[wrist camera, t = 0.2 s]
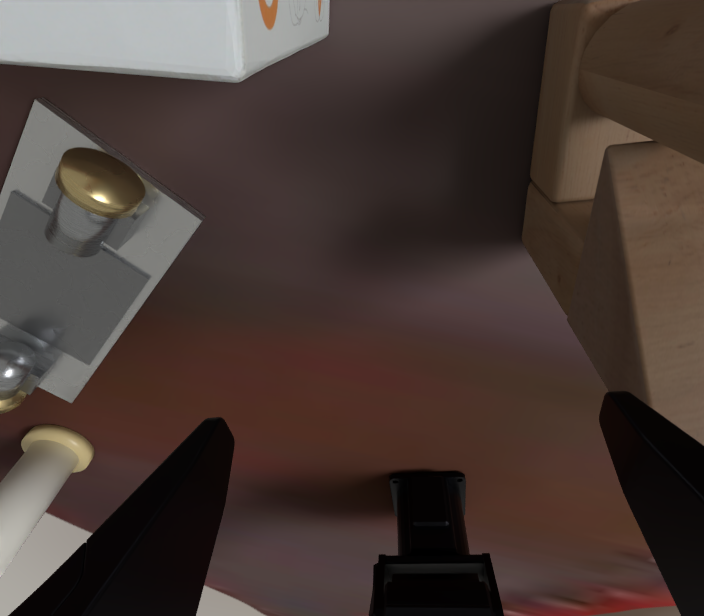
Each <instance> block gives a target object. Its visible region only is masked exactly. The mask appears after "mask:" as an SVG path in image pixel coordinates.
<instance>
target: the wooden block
mask: <svg viewBox="0 0 704 616" xmlns="http://www.w3.org/2000/svg"><path fill="white" fill-rule="evenodd" d="M530 176H531V179H532V180H533V181H531V182H530V184H529V187H528V193H527V201H526V209H525V216H524V224H523V232H522V242H523V244H524V246H525V247H526V249H527V251H528V252H529V254H530V256H531V257H532V259H533V261H534V262H535V264H536V266H537V267H538V269H539V271H540V272H541V274H542V276H543V277H544V279H545V281H546V282H547V284H548V286H549V287H550V289H551V291H552V292H553V294H554V296H555V297H556V299H557V301H558V302H559V304H560V306H561V307H562V309H563V311H564V312H565V314H566V315H568V318H567V321H568V323H569V325H570V326H571V328H572V330H573V331H574V333H575V335H576V336H577V338H578V340H579V342H580V343H581V345H582V347H583V348H584V350H585V352H586V353H587V355H588V357H589V358H590V360H591V362H592V363H593V365H594V367H595V369H596V370H597V372H598V374H599V375H600V377H601V379H602V380H603V382H604V384H605V385H606V387H607V389H608V390H609V391H628V392H630V393H632V394H633V395H635V396H636V397H637V398H639V399H640V400H642V401H643V402H644V403H646V404H647V405H649V406H650V407H651V408H653V409H654V410H655V411H657V412H658V413H660V414H661V415H662V416H664V417H665V418H666V419H668V420H669V421H671V422H672V423H673V424H675V425H676V426H678V427H679V428H680V429H682V430H683V431H684V432H686V433H687V434H689V435H690V436H691V437H693V438H694V439H696V440H697V441H698V442H700V443H701V444H702V445H704V0H561V1H558V2H557V3H555V4H554V5H553V7H552V9H551V11H550V19H549V27H548V35H547V43H546V51H545V59H544V67H543V74H542V82H541V90H540V98H539V106H538V114H537V122H536V130H535V138H534V146H533V154H532V162H531V170H530Z"/></svg>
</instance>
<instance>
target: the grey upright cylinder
mask: <svg viewBox="0 0 704 616" xmlns="http://www.w3.org/2000/svg"><path fill="white" fill-rule="evenodd" d="M21 446H22V449H23V451H24V452H25V453H24V454H23V455H22V457H21V458H20V459H19V460H18V462H17V463H16V464H15V465H14V466H13V468H12V469H11V470H10V471H9V473H8V474H7V475H6V476H5V477H4V479H3V480H2V481H1V482H0V578H1V576H2V575H3V573H4V572H5V570H6V569H7V567H8V566H9V564H10V563H11V561H12V560H13V559H14V557H15V555H16V554H17V553H18V551H19V550H20V548H21V547H22V545H23V544H24V542H25V541H26V539H27V538H28V536H29V535H30V533H31V532H32V530H33V529H34V528H35V526H36V525H37V523H38V522H39V520H40V519H41V517H42V516H43V514H44V513H45V511H46V510H47V508H48V507H49V505H50V504H51V502H52V501H53V499H54V498H55V496H56V495H57V494H58V492H59V491H60V489H61V488H62V486H63V485H64V483H65V482H66V480H67V479H68V477H69V476H70V474H71V473H74V472H80V471H82V470H84V469H85V468H86V467H87V466H88V464H89V463H90V461H91V460H92V458H93V457H94V453H95V452H94V448H93V446H92V445H91V443H90V442H89V441H88V440H87V439H86V438H84V437H83V436H82V435H80V434H79V433H77V432H75V431H73V430H71V429H68V428H65V427H62V426H58V425H52V424H42V425H37V426H35V427H33V428H32V429H31V430H30V431H29V432H28V433H27V435H26V436H25V437H24V438H23V440H22V442H21Z"/></svg>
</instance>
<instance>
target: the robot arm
mask: <svg viewBox="0 0 704 616" xmlns="http://www.w3.org/2000/svg"><path fill="white" fill-rule="evenodd" d="M599 422H600V426H601V429H602V432H603V435H604V438H605V441H606V444H607V447H608V450H609V453H610V456H611V459H612V461H613V464H614V467H615V470H616V473H617V476H618V479H619V482H620V485H621V487H622V490H623V493H624V495H625V497H626V499H627V502H628V504H629V506H630V508H631V510H632V512H633V515H634V517H635V519H636V521H637V523H638V525H639V527H640V529H641V531H642V534H643V536H644V538H645V540H646V542H647V544H648V546H649V548H650V551H651V553H652V555H653V557H654V559H655V561H656V563H657V565H658V567H659V570H660V572H661V574H662V576H663V578H664V580H665V582H666V584H667V587H668V589H669V591H670V593H671V595H672V597H673V599H674V601H675V604H676V606H677V608H678V610H679V612H680V614H681V616H704V445H702V444H701V443H700V442H698V441H697V440H696V439H694V438H693V437H691V436H690V435H689V434H687V433H686V432H684V431H683V430H682V429H680V428H679V427H678V426H676V425H675V424H673V423H672V422H671V421H669V420H668V419H666V418H665V417H664V416H662V415H661V414H660V413H658V412H657V411H655V410H654V409H653V408H651V407H650V406H649V405H647V404H646V403H644V402H643V401H642V400H640V399H639V398H637V397H636V396H635V395H633V394H632V393H630V392H628V391H609V392H607V393H606V394H605V396H604V400H603V403H602V407H601V411H600V415H599ZM233 452H234V437H233V435H232V433H231V431H230V429H229V427H228V426H227V424H226V422H225V420H224V419H223V418H221V417H216V418H207V419H205V420H204V421H203V422H202V423H201V424H200V425H199V426H198V427H197V428H196V429H195V430H194V431H193V432H192V433H191V434H190V435H189V436H188V437H187V438H186V439H185V440H184V441H183V442H182V443H181V444H180V445H179V446H178V447H177V448H176V449H175V450H174V451H173V452H172V453H171V454H170V455H169V456H168V458H167V459H166V460H165V461H164V462H163V463H162V464H161V465H160V466H159V467H158V468H157V469H156V470H155V471H154V472H153V473H152V474H151V475H150V476H149V477H148V478H147V479H146V480H145V481H144V482H143V483H142V484H141V485H140V486H139V487H138V488H137V489H136V490H135V491H134V492H133V493H132V494H131V495H130V496H129V497H128V498H127V499H126V500H125V501H124V502H123V503H122V505H121V506H120V507H119V508H118V509H117V510H116V511H115V512H114V513H113V514H112V515H111V516H110V517H109V518H108V519H107V520H106V521H105V522H104V523H103V524H102V525H101V526H100V527H99V528H98V529H97V530H96V531H95V532H94V533H93V534H92V535H91V536H90V537H89V538H88V539H87V543H83V544H82V545H81V546H80V547H79V548H78V549H77V550H76V552H75V553H74V554H72V555H71V557H70V558H69V559H68V560H66V562H64V563H63V565H61V566H60V567H59V569H57V570H56V571H55V572H54V573H53V574H52V575H51V576H50V577H49V578H48V579H47V580H46V581H45V582H44V583H43V584H42V585H41V586H40V587H39V588H38V589H37V590H36V591H34V592H33V593H32V595H30V596H29V597H28V598H27V599H26V600H25V601H24V602H23V603H22V604H21V605H20V606H18V607H17V608H16V609H15V610H14V611H13V612H12V613H11V614H10V615H8V616H196V613H197V609H198V605H199V601H200V598H201V594H202V590H203V586H204V583H205V579H206V575H207V571H208V568H209V564H210V560H211V556H212V553H213V549H214V545H215V541H216V537H217V534H218V530H219V526H220V522H221V519H222V515H223V511H224V507H225V502H226V496H227V490H228V484H229V477H230V471H231V465H232V458H233ZM389 481H390V488H391V494H392V500H393V506H394V511H395V516H397V526H398V556H386V554H381V555H379V561H378V563H377V564H375V565H374V570H373V591H372V598H371V604H370V611H369V616H504V614H503V609H502V604H501V600H500V596H499V592H498V587H497V583H496V579H495V575H494V571H493V567H492V562H491V558H490V554H489V553H482V555H470V553H469V547H468V541H467V534H466V528H465V521H464V515H465V489H466V479H465V475H464V474H463V473H429V474H394V475H391V476H390V478H389Z"/></svg>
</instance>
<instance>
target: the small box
mask: <svg viewBox="0 0 704 616" xmlns="http://www.w3.org/2000/svg"><path fill="white" fill-rule="evenodd" d="M328 34H329V0H0V64H11V65H23V66H35V67H48V68H60V69H72V70H85V71H97V72H109V73H121V74H133V75H145V76H157V77H169V78H181V79H193V80H206V81H219V82H232V83H238V82H241V81H243V80H244V79H246V78H248V77H249V76H251V75H253V74H254V73H256V72H258V71H260V70H262V69H264V68H266V67H267V66H269V65H272V64H274V63H276V62H278V61H280V60H282V59H284V58H286V57H288V56H290V55H292V54H294V53H296V52H298V51H300V50H302V49H304V48H307V47H309V46H311V45H313V44H315V43H317V42H319V41H320V40H322V39H324V38H326V37H327V36H328Z"/></svg>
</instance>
